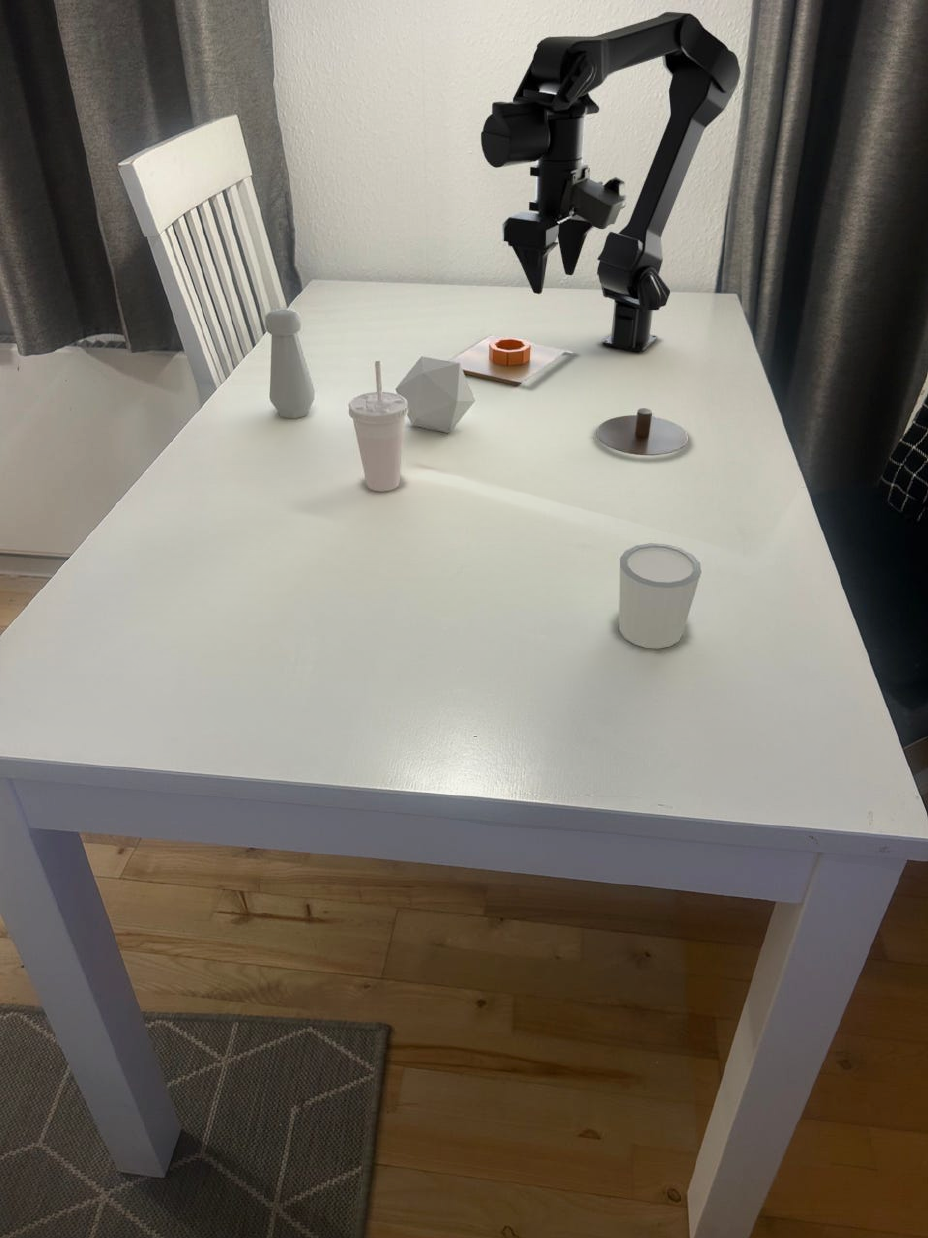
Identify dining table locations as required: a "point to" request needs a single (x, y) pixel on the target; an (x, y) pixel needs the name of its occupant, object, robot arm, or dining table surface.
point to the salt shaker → (288, 366)
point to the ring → (509, 351)
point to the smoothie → (380, 434)
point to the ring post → (642, 434)
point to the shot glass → (656, 593)
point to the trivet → (482, 366)
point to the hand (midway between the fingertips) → (553, 283)
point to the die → (436, 394)
